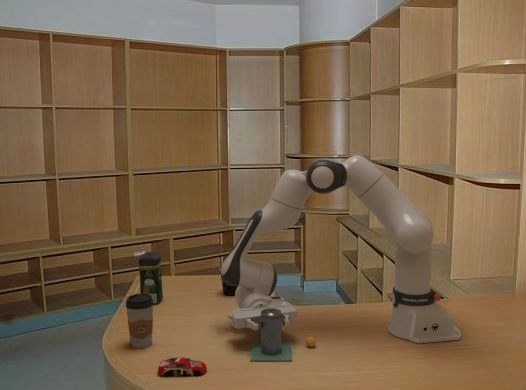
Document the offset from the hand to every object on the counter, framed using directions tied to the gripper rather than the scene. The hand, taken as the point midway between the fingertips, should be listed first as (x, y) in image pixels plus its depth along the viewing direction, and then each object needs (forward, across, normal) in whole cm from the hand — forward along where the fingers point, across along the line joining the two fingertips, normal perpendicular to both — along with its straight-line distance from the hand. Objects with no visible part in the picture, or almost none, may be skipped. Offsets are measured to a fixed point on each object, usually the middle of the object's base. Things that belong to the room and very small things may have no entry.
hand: (271, 325), depth 160 cm
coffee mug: (-56, +2, +9) cm, 57 cm away
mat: (-1, 0, +9) cm, 9 cm away
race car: (+3, -27, +9) cm, 29 cm away
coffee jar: (-56, -29, +9) cm, 64 cm away
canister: (-1, 0, +8) cm, 8 cm away
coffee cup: (-19, -36, +9) cm, 42 cm away
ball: (-1, +13, +9) cm, 15 cm away
